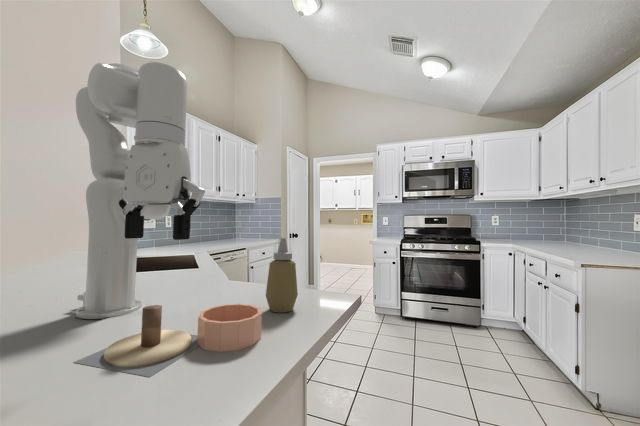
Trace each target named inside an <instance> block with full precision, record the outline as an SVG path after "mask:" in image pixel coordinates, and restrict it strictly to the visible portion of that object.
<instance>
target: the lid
mask: <svg viewBox="0 0 640 426" xmlns="http://www.w3.org/2000/svg"><path fill="white" fill-rule="evenodd" d="M162 309H163V305H159V304H153V305H147V306H144V307H143V308H142V310H141V311H142V312H141V315H142V316H141V317H142V318H141V332H140V333H137V334H133V335H130V336H127V337H124V338H121V339H119V340H117V341H115V342H113V343H112V344H110V345H108V346H107V347H106V348H107V349H106V348H105V349H106V350H105V352H104V361H105V362H106V363H107V364H109V365H111V366H115V367H141V366H147V365H152V364H157V363H160V362H164V361H167V360H169V359H172V358H174V357H176V356H178V355H180V354H182V353H184V352H185V351H186V350H187V349H188V348H189V347H190V346H191V336H190V335H189V333H188V332H186V331H183V330H176V329H162V315H163V314H162V312H163V310H162Z"/></svg>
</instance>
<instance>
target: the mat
mask: <svg viewBox="0 0 640 426" xmlns="http://www.w3.org/2000/svg"><path fill="white" fill-rule="evenodd" d="M188 334H189V333H188ZM189 335H190V336H191V346H190V347H189V348H188V349H187V350H186V351H185V352H184V353H182V354H180V355H178V356H176V357H174V358H172V359H169V360H167V361H164V362H160V363H157V364H152V365H147V366H141V367H115V366H111V365H109V364H107V363H106V362H105V361H104V352H105V350H106V349H107V348H108V347H106V348H104V349H101V350H98V351H96V352H93V353H92V354H89V355H86V356H85V357H83V358H80V359H77V360H76V361H74V362H73V363H74V364H78V365H81V366H82V365H83V366H88V367H92V368H93V367H94V368H97V369H98V368H99V369H104V370H108V371H113V372H119V373H124V374H129V375H134V376H139V377H140V376H141V377H145V378H151V377H153V376H155V375H156V374H158V373H159V372H161V371H163V370H165V369H166V368H167V367H169V366H170V365H172V364H174V363H175V362H177V361H178V360H180V359H181V358H183V357H185V356H187V355H188V354H189V353H191V352H193V351H194V350H196V349H198V348H199V347H201V346H200V345H199V344H197V336H198V334H192V333H191V334H189Z"/></svg>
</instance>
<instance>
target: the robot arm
mask: <svg viewBox="0 0 640 426" xmlns="http://www.w3.org/2000/svg"><path fill="white" fill-rule="evenodd" d="M75 96H76V97H75V109H76V110H75V112H76V117H77V121H78V123H79V126H80V128H81V129H82V132H83V134H84V135H85V137H86V139H87V142H88V149H89V151H88V152H89V159H90V169H91V173H92V175H93V176H94V178H95V180H93V181H92V182H90V183H89V184H88V186H86V187H87V188H86V191H85V202H86V210H87V217H88V245H87V263H86V264H87V265H86V266H87V267H86V282H85V283H86V284H85V291H84V292H83V294H78V295H77V297H76V300H78V301H82V306H80V307H78V308H77V309H76V310H75V316H76V317H77V318H78V319H84V320H100V319H101V320H103V319H109V318H113V317H120V316H123V315H128V314H131V313H134V312H137V311H138V310H140V309H142V307H143V306H142V305H143V304H142V303H143V302H142V301H141V300H138V299H135V298H136V279H137V259H138V258H137V257H138V256H137V255H138V239H142V238H143V237H144V234H145V231H144V230H145V229H144V228H145V220H160V219H161V220H162V219H164V218H165V217H167V216H168V215H169V214H170V211H171V207H172V208H173V209H174V210H175V213H176V214H173V219H172V221H173V222H172V223H173V225H172V226H173V227H172V239H173V240H174V241H181V240H189V239H190V237H191V236H190V235H191V222H192V221H191V218H192V217H193V216H194V214H195V211H196V210H197V209H198V208H199V207H200V205H201V201H202V199H203V198H204V195H205V192H206V189H204V188H203V187H201V186H200V185H198V184H196V183H195V182H193V181H192V176H191V174H192V173H191V164H190V157H189V151H188V148H186V127H187V125H186V124H187V123H186V122H187V103H188V102H187V101H188V99H187V98H188V82H187V78H186V76H185V75H184V74H183V73H182V72H181V71H180V70H179V69H178V68H176V67H174V66H171V65H169V64H166V63H162V62H154V61H151V62H146V63H143V64H142V65H141V66H140V68H139V69H135V68H134V67H130V66H128V65H125V64H121V63H107V64H106V63H101V62H98V63H95V64H94V65H93V66H92V68H91V70H90V71H89V74H88V77H87V86H84V87H81V88H80V89H79V90H78V92H77V93H76V95H75ZM113 124H116V125H120V126H124V127H129V128H133V129H135V135H134V136H133V140H134V144H132V145H131V146H130V149H129V144H128V140H127V138H126V137H125V136H124V134H123V133H122V132H121V131H120V130H119V129H118V128H117V127H116V126H115V125H113Z"/></svg>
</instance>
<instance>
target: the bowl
mask: <svg viewBox="0 0 640 426" xmlns="http://www.w3.org/2000/svg"><path fill="white" fill-rule="evenodd" d="M262 316H263V312H262V308H261V307H258V306H256V305H253V304H245V303H231V304H230V303H229V304H222V305H216V306H211V307H208V308H205V309H203V310H202V311H200V312H199V315H198V316H197V335H198V336H197V344H199V345H200V346H199V347H200V348H202V349H203V350H205V351H211V352H212V351H213V352H219V353H221V352H222V353H223V352H232V351H240V350H242V349H246V348H249V347H251V346H254V345H255V344H256V343H257V342H259V341H260V340H261V339H262V318H263V317H262Z"/></svg>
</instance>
